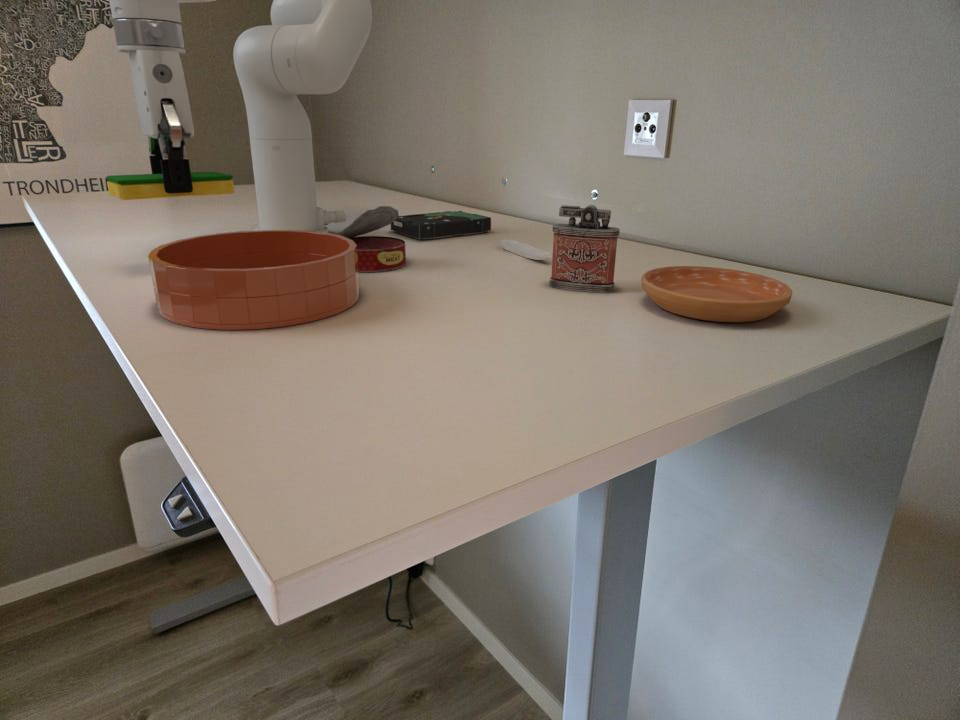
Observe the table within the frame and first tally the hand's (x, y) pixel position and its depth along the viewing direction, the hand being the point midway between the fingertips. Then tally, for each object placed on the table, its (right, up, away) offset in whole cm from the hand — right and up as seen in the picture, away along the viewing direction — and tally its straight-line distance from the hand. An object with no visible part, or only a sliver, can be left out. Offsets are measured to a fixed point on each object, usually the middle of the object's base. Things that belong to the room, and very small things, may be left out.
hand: (172, 188), depth 85 cm
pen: (+47, -7, +12) cm, 49 cm away
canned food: (+25, -9, +6) cm, 27 cm away
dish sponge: (0, -1, 0) cm, 1 cm away
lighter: (+53, -14, -4) cm, 55 cm away
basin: (+15, -16, -11) cm, 25 cm away
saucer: (+67, -17, -11) cm, 69 cm away
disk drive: (+33, 0, +30) cm, 44 cm away
